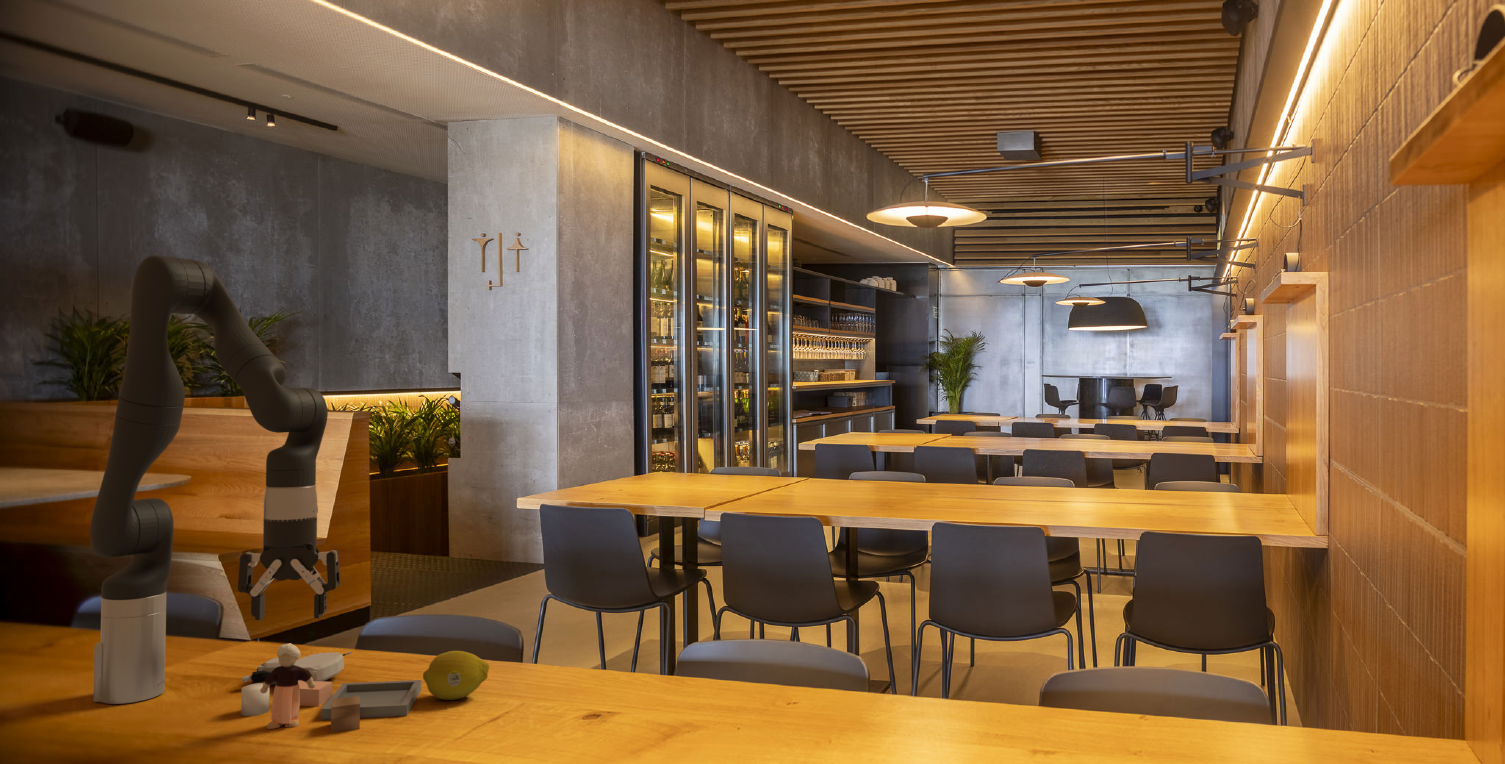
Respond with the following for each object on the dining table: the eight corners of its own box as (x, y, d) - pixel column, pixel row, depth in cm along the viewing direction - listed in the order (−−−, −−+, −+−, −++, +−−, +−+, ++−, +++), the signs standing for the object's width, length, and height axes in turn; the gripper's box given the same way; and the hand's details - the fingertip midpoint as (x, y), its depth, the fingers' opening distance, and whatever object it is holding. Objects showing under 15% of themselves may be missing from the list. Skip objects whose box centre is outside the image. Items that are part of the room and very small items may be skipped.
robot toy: (236, 697, 158) (320, 694, 157) (235, 671, 158) (318, 667, 157) (278, 675, 170) (356, 672, 169) (277, 651, 170) (354, 647, 169)
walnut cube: (331, 733, 140) (331, 707, 140) (331, 724, 143) (331, 699, 143) (359, 729, 141) (360, 703, 142) (358, 721, 145) (359, 695, 145)
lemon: (415, 706, 152) (416, 658, 152) (431, 691, 160) (432, 645, 160) (480, 706, 152) (481, 658, 152) (493, 691, 160) (494, 645, 160)
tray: (320, 720, 145) (321, 709, 145) (342, 693, 158) (342, 683, 158) (406, 715, 147) (407, 705, 147) (421, 689, 160) (421, 680, 160)
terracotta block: (284, 706, 152) (284, 688, 152) (298, 698, 156) (299, 680, 156) (318, 707, 151) (319, 689, 151) (332, 699, 155) (332, 682, 155)
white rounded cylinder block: (237, 717, 146) (237, 691, 146) (246, 708, 150) (246, 684, 150) (264, 715, 147) (264, 690, 147) (272, 707, 151) (273, 682, 151)
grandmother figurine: (259, 733, 139) (260, 649, 139) (259, 724, 143) (261, 643, 143) (315, 725, 143) (316, 643, 143) (314, 717, 146) (315, 637, 146)
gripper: (232, 518, 138) (230, 626, 138) (332, 517, 141) (331, 622, 141) (250, 512, 146) (249, 614, 145) (345, 510, 148) (344, 611, 148)
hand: (289, 618), depth 143 cm, fingers open, 8 cm apart
